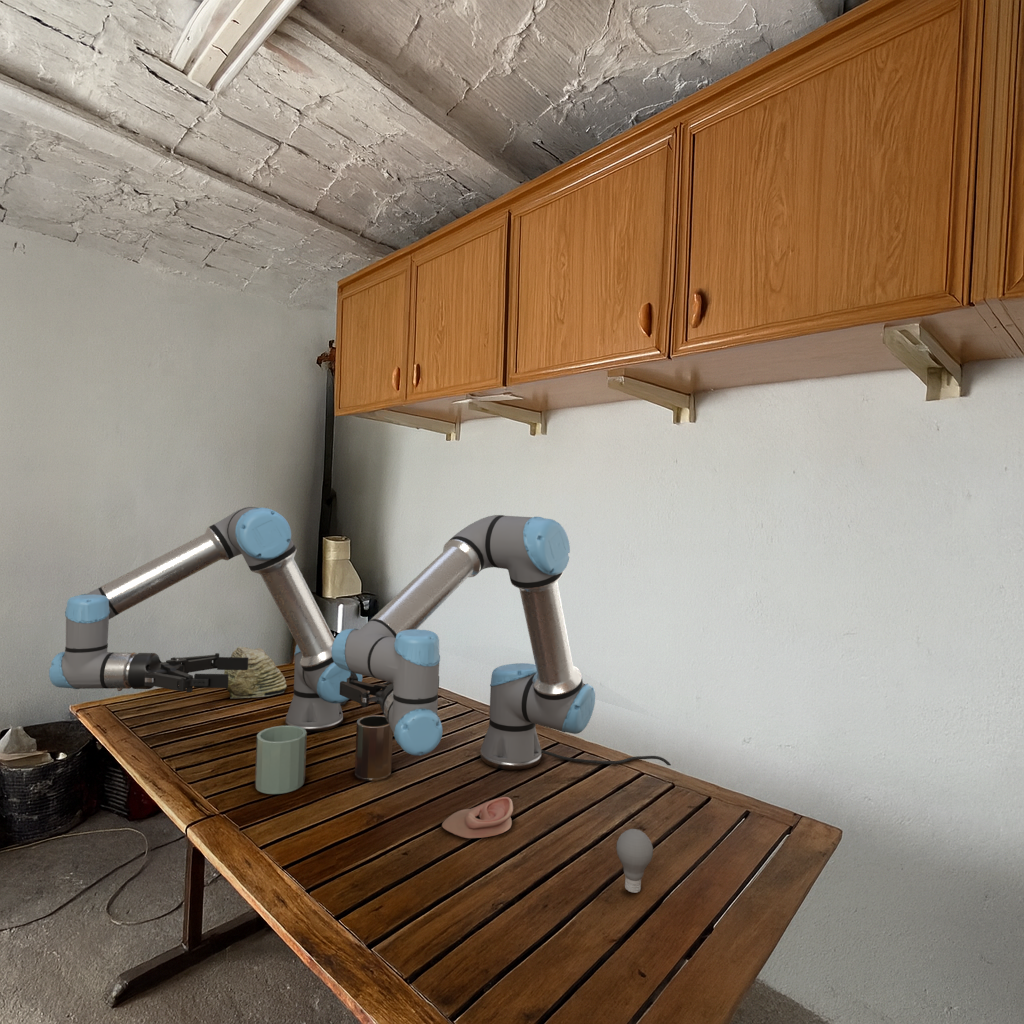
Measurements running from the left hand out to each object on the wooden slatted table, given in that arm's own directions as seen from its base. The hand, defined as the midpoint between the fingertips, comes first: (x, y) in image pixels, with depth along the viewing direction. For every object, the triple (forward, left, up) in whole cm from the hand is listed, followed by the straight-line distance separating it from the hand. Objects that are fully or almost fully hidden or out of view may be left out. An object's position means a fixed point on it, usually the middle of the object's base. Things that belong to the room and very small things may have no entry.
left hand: (238, 672), depth 138 cm
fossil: (-34, -53, -24) cm, 68 cm away
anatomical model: (-23, +50, -24) cm, 61 cm away
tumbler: (-24, +17, -24) cm, 38 cm away
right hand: (-19, +25, +1) cm, 32 cm away
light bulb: (-25, +83, -24) cm, 90 cm away
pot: (-7, +7, -24) cm, 26 cm away
